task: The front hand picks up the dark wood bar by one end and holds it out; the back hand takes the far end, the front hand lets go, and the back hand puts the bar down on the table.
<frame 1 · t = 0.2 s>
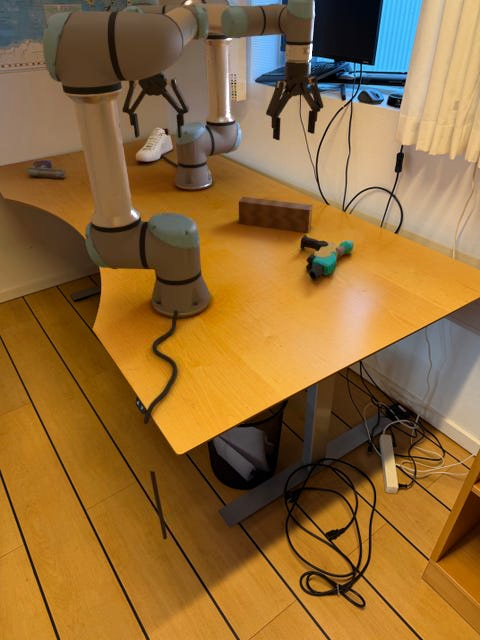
front hand: (158, 136, 149), 29 cm above the table, tool pointing down, fingers open, 13 cm apart
back hand: (293, 136, 152), 28 cm above the table, tool pointing down, fingers open, 13 cm apart
toy gun 2: (317, 263, 142), on the table
bar: (274, 225, 164), on the table
toy gun: (51, 173, 209), on the table
sneaker: (154, 156, 227), on the table
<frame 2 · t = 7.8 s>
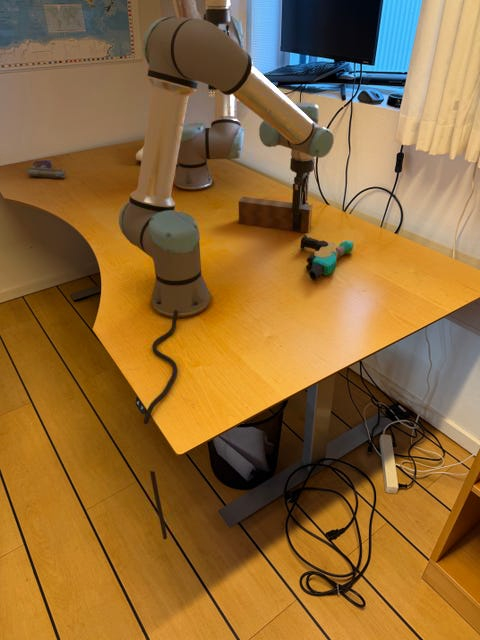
front hand: (298, 226, 161), 1 cm above the table, tool pointing down, fingers closed on bar, 4 cm apart
back hand: (220, 85, 155), 41 cm above the table, tool pointing down, fingers open, 13 cm apart
bar: (274, 225, 164), on the table, touching front hand
everything else where it was.
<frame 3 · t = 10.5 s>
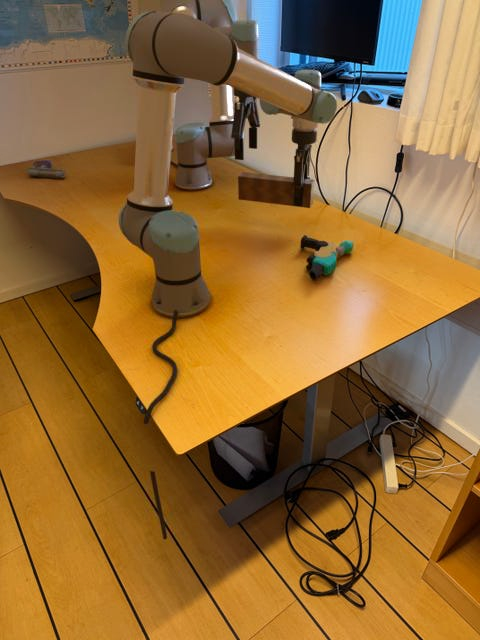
front hand: (299, 202, 156), 9 cm above the table, tool pointing down, fingers closed on bar, 4 cm apart
back hand: (246, 153, 154), 23 cm above the table, tool pointing down, fingers open, 13 cm apart
bar: (275, 201, 158), point 9 cm above the table, touching front hand
everything else where it was.
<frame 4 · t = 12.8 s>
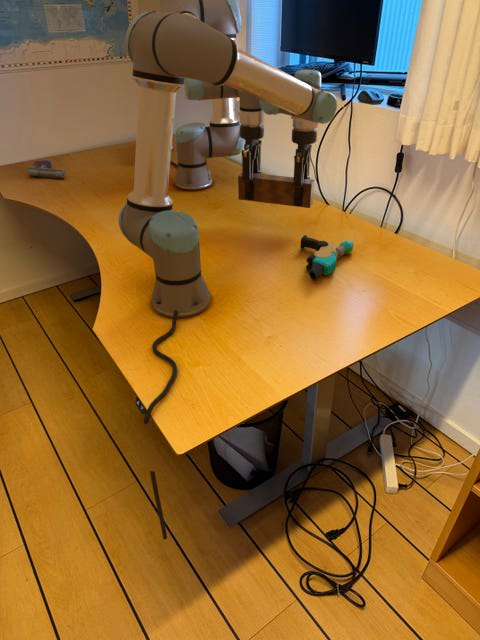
front hand: (299, 202, 156), 9 cm above the table, tool pointing down, fingers closed on bar, 4 cm apart
back hand: (251, 196, 160), 9 cm above the table, tool pointing down, fingers closed on bar, 4 cm apart
bar: (275, 201, 158), point 9 cm above the table, touching front hand, back hand
everything else where it was.
when the front hand's fingers open (9 cm above the table, at t = 13.4 s): bar stays where it is, held by the back hand.
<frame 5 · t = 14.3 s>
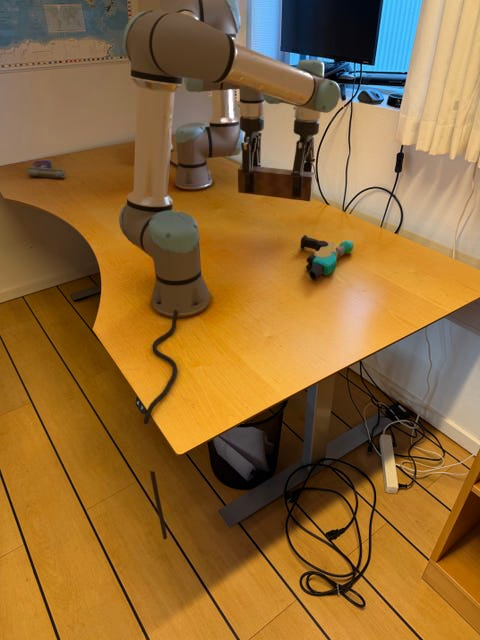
front hand: (301, 189, 153), 14 cm above the table, tool pointing down, fingers open, 13 cm apart
back hand: (251, 189, 159), 12 cm above the table, tool pointing down, fingers closed on bar, 4 cm apart
bar: (275, 194, 157), point 11 cm above the table, touching back hand
everything else where it was.
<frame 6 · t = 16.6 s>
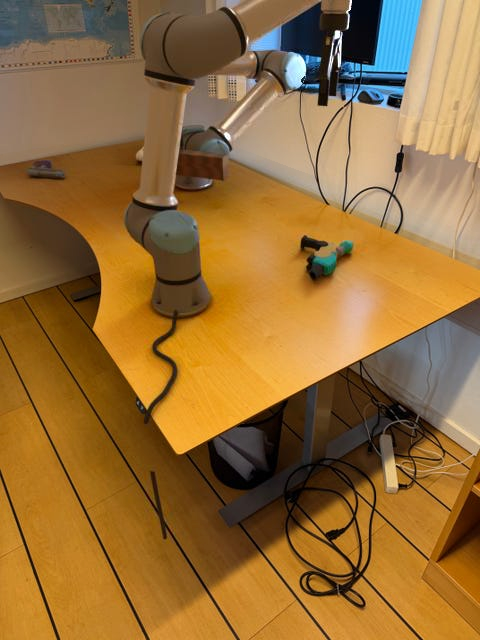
front hand: (327, 100, 136), 40 cm above the table, tool pointing down, fingers open, 13 cm apart
back hand: (175, 170, 174), 12 cm above the table, tool pointing down, fingers closed on bar, 4 cm apart
bar: (195, 174, 172), point 12 cm above the table, touching back hand
everything else where it was.
when the back hand's fingers open (2 cm above the table, at t = 20.6 s): bar drops 1 cm, on the table.
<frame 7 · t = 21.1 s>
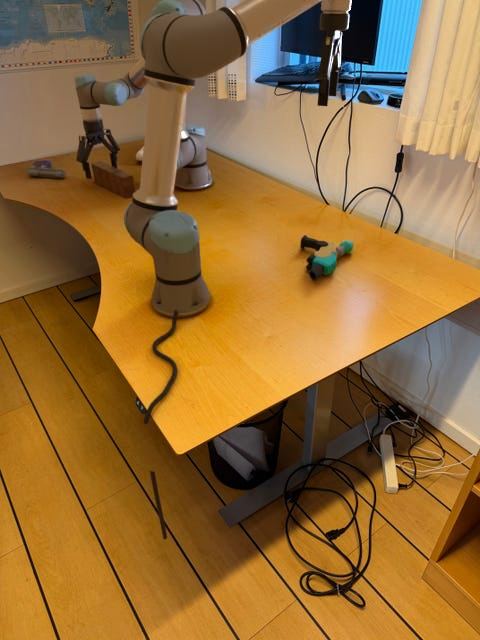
front hand: (327, 100, 136), 40 cm above the table, tool pointing down, fingers open, 13 cm apart
back hand: (102, 173, 196), 4 cm above the table, tool pointing down, fingers open, 13 cm apart
bar: (114, 188, 194), on the table
everything else where it was.
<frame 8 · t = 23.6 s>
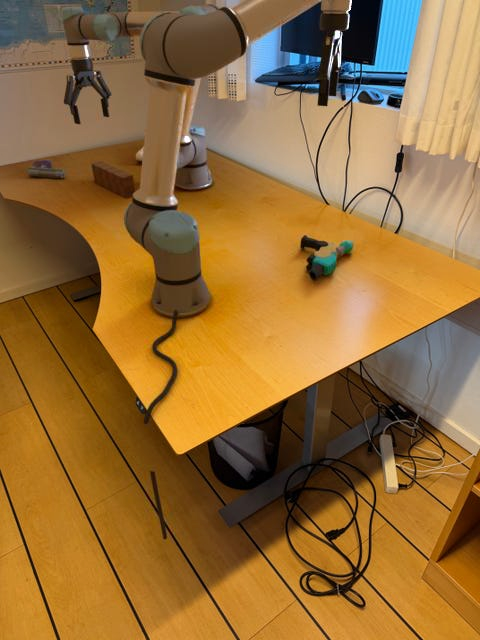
front hand: (327, 100, 136), 40 cm above the table, tool pointing down, fingers open, 13 cm apart
back hand: (92, 120, 184), 25 cm above the table, tool pointing down, fingers open, 13 cm apart
nothing on the table moved.
at the end: bar inside the target area (8.6 cm from its centre), on the table; the front hand is holding nothing; the back hand is holding nothing; bar at rest at the end (0.0 cm/s) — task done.
